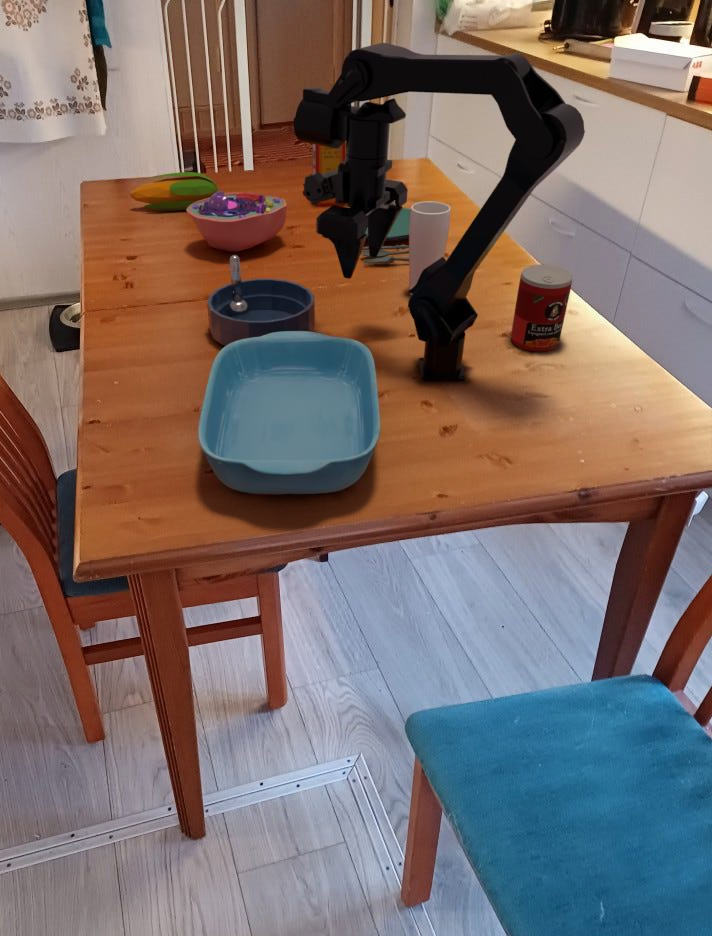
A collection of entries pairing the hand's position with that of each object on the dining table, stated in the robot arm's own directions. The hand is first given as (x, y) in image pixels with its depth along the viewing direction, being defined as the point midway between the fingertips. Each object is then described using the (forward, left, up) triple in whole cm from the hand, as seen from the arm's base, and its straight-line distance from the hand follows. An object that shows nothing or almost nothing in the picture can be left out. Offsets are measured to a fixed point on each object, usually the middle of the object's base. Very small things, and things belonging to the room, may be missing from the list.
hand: (360, 267), depth 116 cm
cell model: (+45, +23, -13) cm, 52 cm away
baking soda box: (+76, +5, -13) cm, 77 cm away
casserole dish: (-26, +10, -13) cm, 31 cm away
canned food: (+2, -28, -13) cm, 31 cm away
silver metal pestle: (+7, +20, -12) cm, 24 cm away
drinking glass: (+21, -12, -13) cm, 28 cm away
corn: (+70, +40, -13) cm, 81 cm away
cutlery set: (+49, -7, -13) cm, 51 cm away
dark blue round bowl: (+6, +16, -13) cm, 21 cm away
